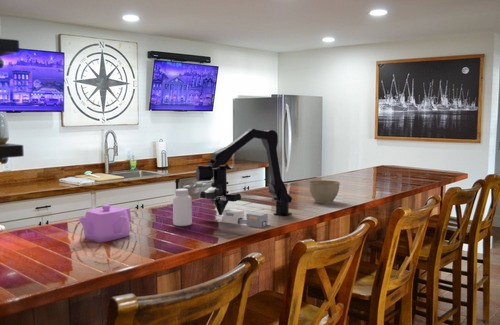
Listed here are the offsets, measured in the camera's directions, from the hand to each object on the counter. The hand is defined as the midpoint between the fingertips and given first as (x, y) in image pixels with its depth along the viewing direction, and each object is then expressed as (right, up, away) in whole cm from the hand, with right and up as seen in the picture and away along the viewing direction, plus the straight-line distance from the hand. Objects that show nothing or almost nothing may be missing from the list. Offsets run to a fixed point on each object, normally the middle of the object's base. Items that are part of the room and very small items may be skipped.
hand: (220, 215), depth 215 cm
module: (+6, -2, -4) cm, 7 cm away
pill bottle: (-16, -3, -7) cm, 18 cm away
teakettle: (-42, -6, -28) cm, 51 cm away
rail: (+10, -3, -6) cm, 12 cm away
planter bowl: (+52, +2, +42) cm, 67 cm away
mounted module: (+16, -3, -10) cm, 19 cm away
